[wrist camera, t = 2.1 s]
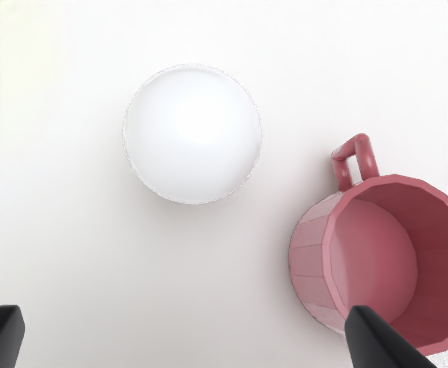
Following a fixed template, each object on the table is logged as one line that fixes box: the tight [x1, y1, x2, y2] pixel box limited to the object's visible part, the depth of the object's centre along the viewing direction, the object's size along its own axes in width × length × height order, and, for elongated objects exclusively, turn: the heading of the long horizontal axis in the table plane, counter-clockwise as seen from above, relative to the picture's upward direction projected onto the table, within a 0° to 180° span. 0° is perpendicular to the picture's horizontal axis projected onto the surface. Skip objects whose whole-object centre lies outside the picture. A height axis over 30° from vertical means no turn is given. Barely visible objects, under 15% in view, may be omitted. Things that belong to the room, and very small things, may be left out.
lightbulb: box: [123, 64, 262, 204], centre depth 18 cm, size 6×6×11 cm
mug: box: [288, 133, 448, 356], centre depth 22 cm, size 13×10×6 cm
